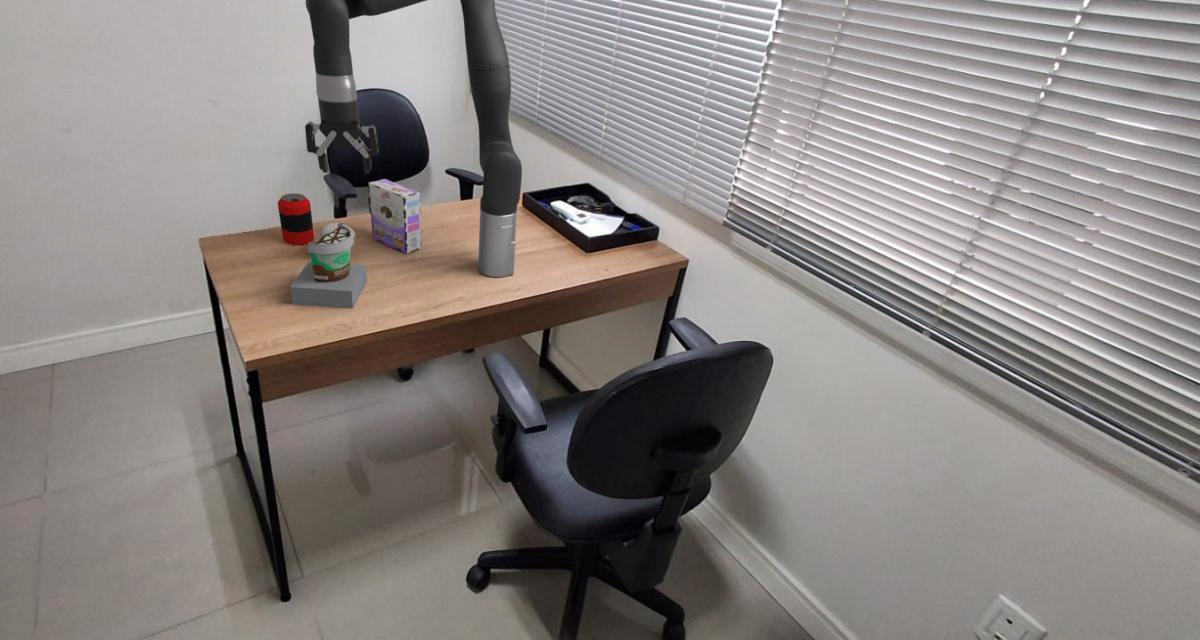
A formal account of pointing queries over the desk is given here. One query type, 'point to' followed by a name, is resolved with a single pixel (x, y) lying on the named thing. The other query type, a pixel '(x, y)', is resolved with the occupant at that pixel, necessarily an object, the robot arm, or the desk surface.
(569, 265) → the desk surface
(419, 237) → the candy box
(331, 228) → the decorative object
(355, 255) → the desk surface
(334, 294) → the grey block
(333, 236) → the food container
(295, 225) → the soda can
